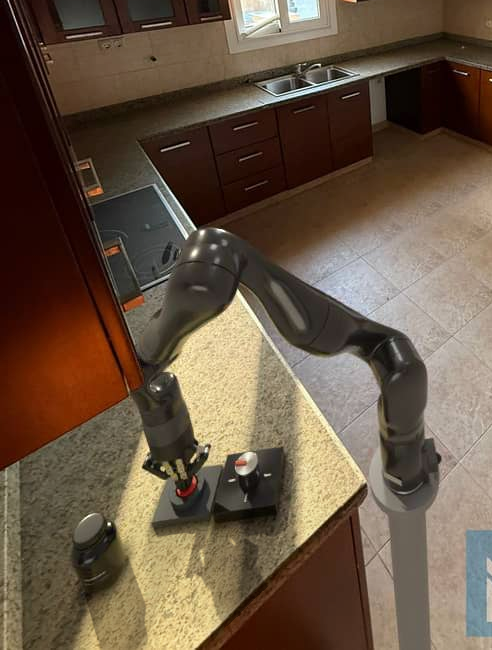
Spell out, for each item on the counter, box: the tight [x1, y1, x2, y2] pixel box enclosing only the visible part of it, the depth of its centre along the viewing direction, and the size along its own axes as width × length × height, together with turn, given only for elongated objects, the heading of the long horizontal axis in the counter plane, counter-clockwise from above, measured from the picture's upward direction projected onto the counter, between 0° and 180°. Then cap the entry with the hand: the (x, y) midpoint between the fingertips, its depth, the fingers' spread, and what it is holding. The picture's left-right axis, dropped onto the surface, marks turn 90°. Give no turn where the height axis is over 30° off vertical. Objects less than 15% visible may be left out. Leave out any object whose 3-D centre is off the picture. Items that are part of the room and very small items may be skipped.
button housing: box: [150, 464, 224, 529], centre depth 88 cm, size 11×9×4 cm
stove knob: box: [235, 451, 261, 490], centre depth 88 cm, size 4×4×5 cm
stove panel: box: [212, 446, 286, 525], centre depth 89 cm, size 12×11×3 cm
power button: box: [177, 476, 198, 498], centre depth 88 cm, size 4×4×2 cm
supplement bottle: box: [69, 511, 127, 595], centre depth 76 cm, size 7×7×12 cm
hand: (186, 486), depth 87 cm, fingers closed
